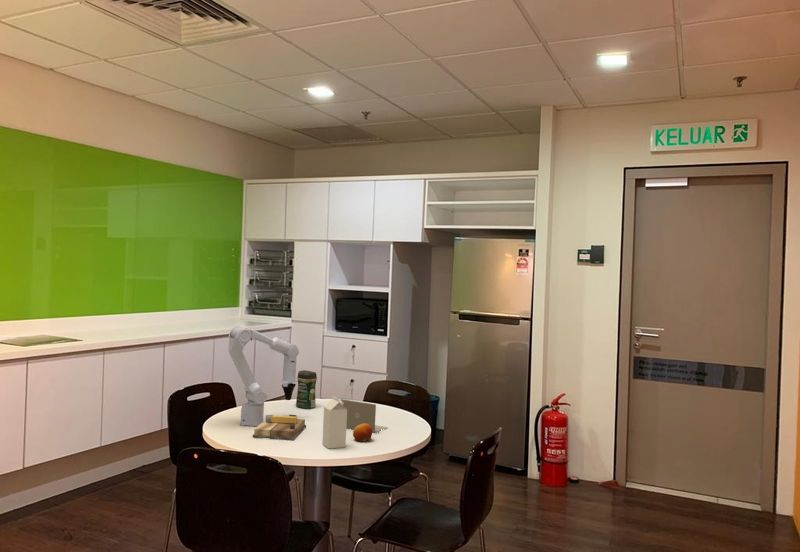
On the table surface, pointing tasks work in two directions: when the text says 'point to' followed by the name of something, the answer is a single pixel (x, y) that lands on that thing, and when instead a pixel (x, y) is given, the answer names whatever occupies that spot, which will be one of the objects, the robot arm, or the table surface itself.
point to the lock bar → (281, 419)
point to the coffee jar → (306, 389)
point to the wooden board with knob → (280, 430)
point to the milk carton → (334, 424)
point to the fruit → (362, 432)
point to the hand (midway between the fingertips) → (288, 399)
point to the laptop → (361, 415)
